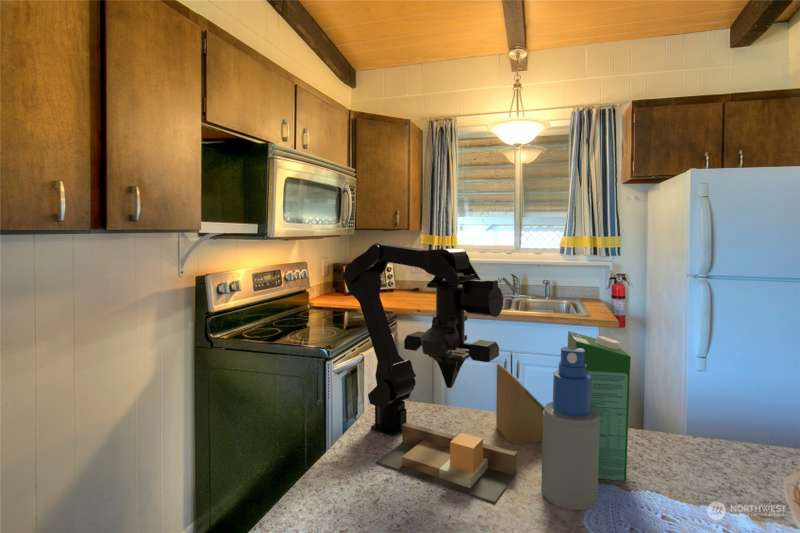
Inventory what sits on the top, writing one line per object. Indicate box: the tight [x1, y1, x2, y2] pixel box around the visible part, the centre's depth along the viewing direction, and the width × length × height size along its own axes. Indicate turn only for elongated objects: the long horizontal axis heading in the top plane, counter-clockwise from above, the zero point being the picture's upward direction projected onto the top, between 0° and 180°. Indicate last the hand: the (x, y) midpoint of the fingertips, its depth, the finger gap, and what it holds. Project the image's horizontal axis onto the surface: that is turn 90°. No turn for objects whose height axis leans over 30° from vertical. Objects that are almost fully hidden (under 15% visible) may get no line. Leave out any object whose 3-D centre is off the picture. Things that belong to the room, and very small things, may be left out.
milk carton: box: [567, 330, 632, 482], centre depth 83 cm, size 9×9×25 cm
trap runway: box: [375, 422, 518, 504], centre depth 83 cm, size 24×11×4 cm, turn 57°
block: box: [450, 432, 484, 473], centre depth 81 cm, size 4×4×4 cm
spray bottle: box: [540, 346, 600, 511], centre depth 74 cm, size 9×9×25 cm
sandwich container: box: [495, 363, 545, 444], centre depth 98 cm, size 9×15×15 cm, turn 96°
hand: (449, 387), depth 90 cm, fingers closed
